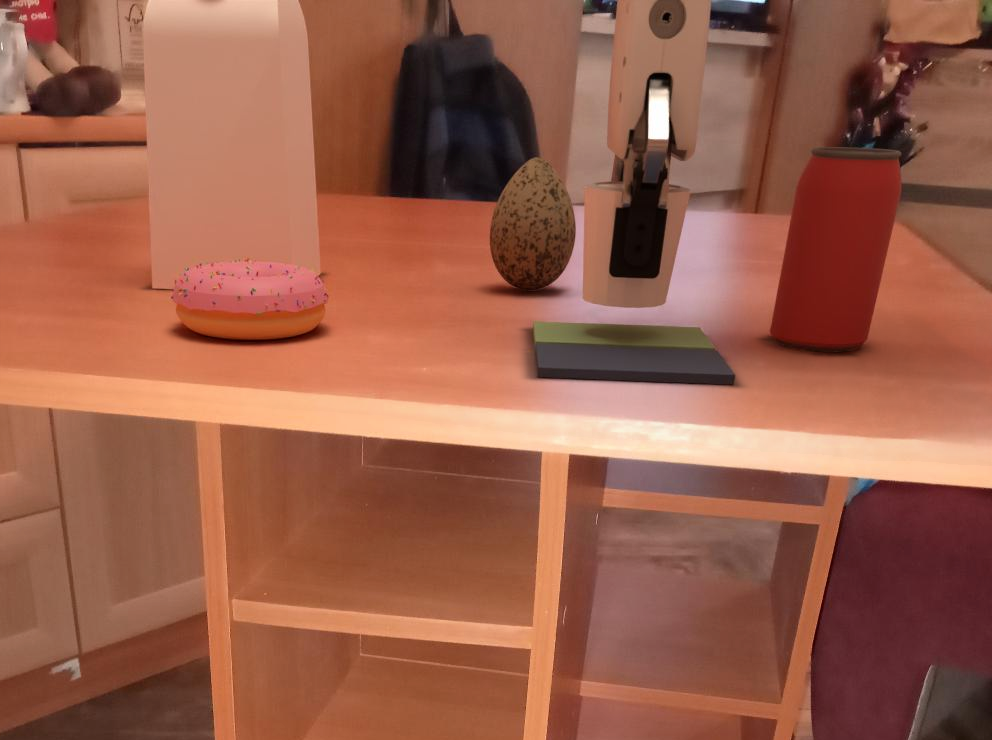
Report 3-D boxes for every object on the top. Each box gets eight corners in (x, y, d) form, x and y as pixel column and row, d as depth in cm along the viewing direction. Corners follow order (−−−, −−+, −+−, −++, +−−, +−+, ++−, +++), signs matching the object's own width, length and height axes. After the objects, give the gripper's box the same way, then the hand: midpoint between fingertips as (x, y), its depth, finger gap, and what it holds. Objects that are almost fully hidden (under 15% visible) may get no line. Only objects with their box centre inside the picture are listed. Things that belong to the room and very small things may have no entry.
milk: (320, 273, 104) (316, -88, 90) (293, 294, 94) (283, -106, 80) (192, 268, 105) (167, -89, 91) (152, 288, 96) (118, -108, 82)
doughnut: (232, 309, 88) (229, 250, 86) (357, 325, 84) (357, 263, 82) (142, 333, 80) (136, 267, 78) (274, 351, 76) (272, 283, 73)
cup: (690, 299, 80) (707, 185, 76) (649, 313, 75) (666, 192, 71) (600, 288, 83) (612, 178, 79) (556, 301, 78) (566, 184, 74)
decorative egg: (564, 299, 95) (576, 161, 89) (479, 294, 96) (486, 158, 91) (575, 286, 101) (587, 156, 95) (494, 281, 102) (502, 153, 97)
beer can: (826, 358, 77) (870, 154, 71) (748, 340, 82) (782, 147, 75) (884, 347, 81) (931, 151, 74) (806, 331, 85) (844, 145, 79)
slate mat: (715, 359, 76) (717, 350, 76) (734, 384, 70) (735, 374, 70) (534, 352, 77) (535, 343, 77) (537, 377, 71) (538, 367, 71)
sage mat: (698, 335, 83) (700, 327, 83) (713, 356, 77) (715, 347, 77) (532, 329, 84) (533, 321, 83) (534, 350, 78) (535, 340, 77)
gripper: (759, -73, 61) (702, 292, 70) (709, -46, 75) (668, 253, 85) (616, -75, 61) (579, 287, 71) (594, -48, 76) (566, 249, 85)
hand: (628, 266), depth 78 cm, fingers closed on cup, 6 cm apart
